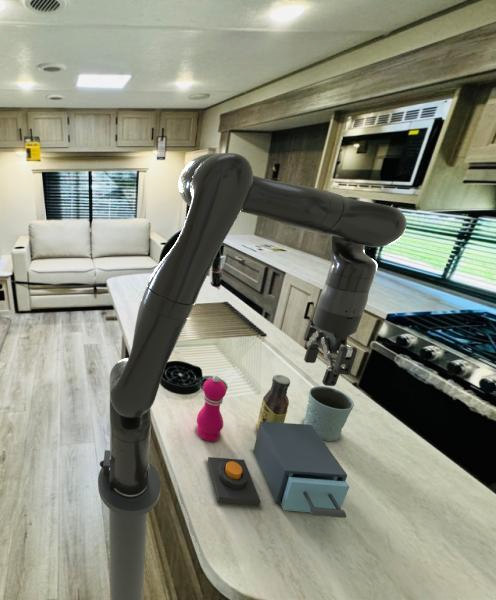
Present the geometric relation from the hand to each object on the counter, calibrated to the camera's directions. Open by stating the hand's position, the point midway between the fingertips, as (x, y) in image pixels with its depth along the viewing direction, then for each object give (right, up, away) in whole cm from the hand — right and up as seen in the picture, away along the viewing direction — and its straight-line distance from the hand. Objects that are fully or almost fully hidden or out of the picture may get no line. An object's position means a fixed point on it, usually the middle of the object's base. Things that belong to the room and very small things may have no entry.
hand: (318, 372), depth 69 cm
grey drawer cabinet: (-1, -28, +8) cm, 29 cm away
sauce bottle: (0, -23, +21) cm, 31 cm away
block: (-17, -29, +7) cm, 34 cm away
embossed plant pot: (+16, -22, +22) cm, 35 cm away
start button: (-17, -26, +6) cm, 31 cm away
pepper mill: (-17, -23, +22) cm, 36 cm away
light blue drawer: (-2, -29, +3) cm, 29 cm away
